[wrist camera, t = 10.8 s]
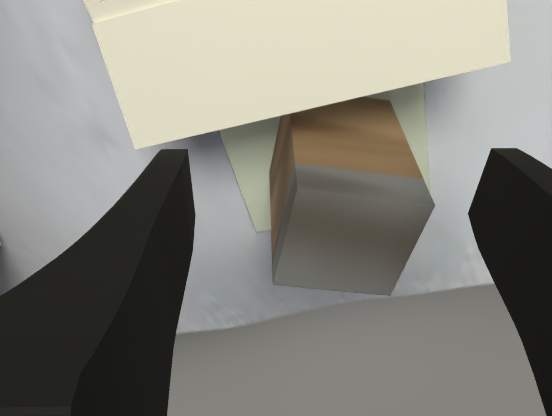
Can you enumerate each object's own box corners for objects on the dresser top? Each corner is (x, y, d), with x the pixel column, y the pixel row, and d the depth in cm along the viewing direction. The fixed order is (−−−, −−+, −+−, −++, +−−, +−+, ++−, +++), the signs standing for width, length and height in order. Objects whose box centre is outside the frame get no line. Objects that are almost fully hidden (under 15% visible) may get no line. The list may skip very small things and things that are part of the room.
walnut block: (360, 183, 24) (390, 295, 19) (269, 171, 23) (272, 284, 18) (390, 100, 21) (435, 205, 16) (287, 85, 21) (297, 188, 15)
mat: (427, 192, 25) (430, 197, 25) (256, 227, 26) (256, 232, 26) (417, 18, 19) (420, 21, 19) (199, 73, 21) (198, 77, 20)
